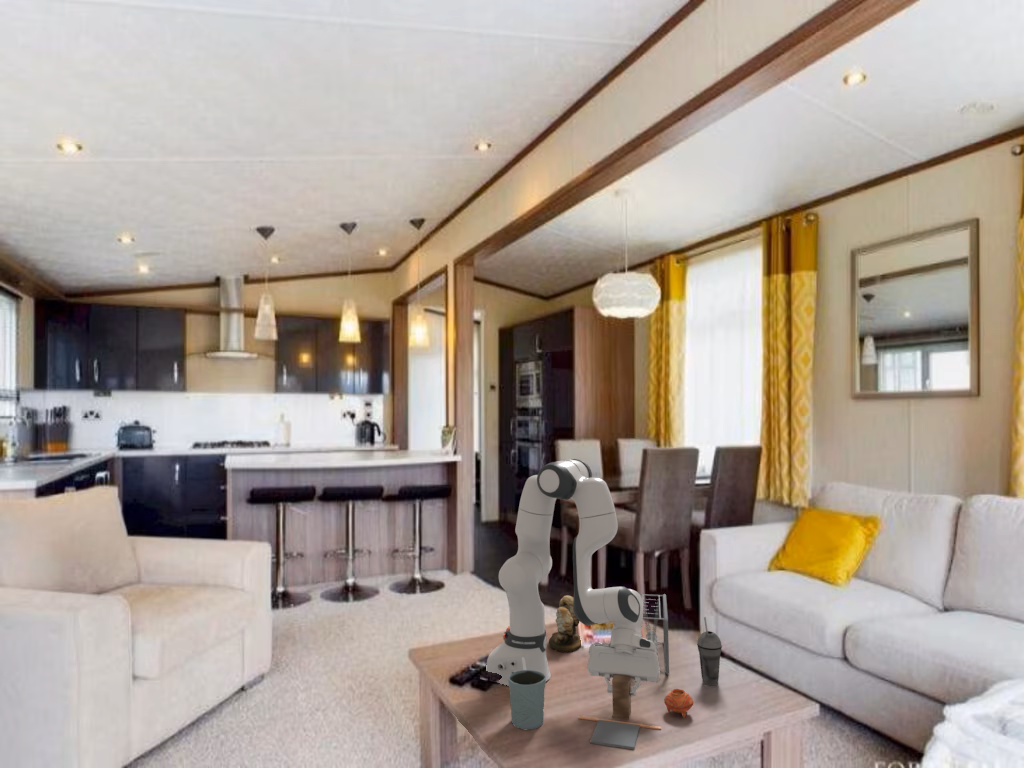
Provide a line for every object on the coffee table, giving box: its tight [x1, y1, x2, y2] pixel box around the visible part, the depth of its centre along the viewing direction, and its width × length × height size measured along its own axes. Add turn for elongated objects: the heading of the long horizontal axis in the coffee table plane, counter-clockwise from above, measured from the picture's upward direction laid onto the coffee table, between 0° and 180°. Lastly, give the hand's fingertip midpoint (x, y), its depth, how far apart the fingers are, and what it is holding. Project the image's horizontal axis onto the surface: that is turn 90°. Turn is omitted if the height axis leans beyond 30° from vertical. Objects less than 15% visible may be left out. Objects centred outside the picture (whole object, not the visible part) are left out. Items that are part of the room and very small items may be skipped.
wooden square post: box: [611, 674, 632, 720], centre depth 182 cm, size 4×4×10 cm
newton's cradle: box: [639, 593, 670, 675], centre depth 222 cm, size 30×10×18 cm, turn 168°
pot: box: [663, 688, 695, 719], centre depth 182 cm, size 8×8×7 cm
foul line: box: [578, 715, 662, 731], centre depth 177 cm, size 22×1×1 cm, turn 72°
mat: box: [590, 720, 641, 750], centre depth 171 cm, size 11×12×1 cm
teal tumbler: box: [508, 670, 546, 730], centre depth 179 cm, size 10×10×12 cm
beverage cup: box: [697, 616, 723, 688], centre depth 201 cm, size 7×7×20 cm
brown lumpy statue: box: [548, 595, 582, 653], centre depth 236 cm, size 18×12×17 cm, turn 174°
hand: (621, 693), depth 182 cm, fingers open, 5 cm apart
